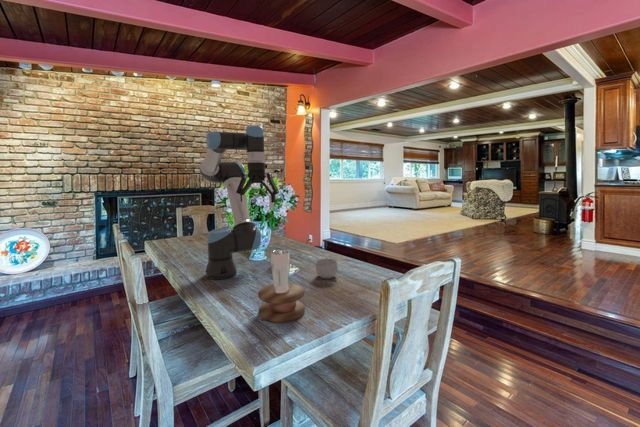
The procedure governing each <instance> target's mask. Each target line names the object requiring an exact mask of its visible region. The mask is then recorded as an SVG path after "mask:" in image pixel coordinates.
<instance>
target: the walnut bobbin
mask: <svg viewBox="0 0 640 427" xmlns="http://www.w3.org/2000/svg"><path fill="white" fill-rule="evenodd" d="M288 285H289V290H290V291H289V292H288V293H287V294H282V295H278V294H274V293H273V287H274V283H273V284H269V285H266V286H264V287H262V288H260V289H259V290H258V292H257V297H258V299H259V300H260V301H261V302H264V303H262V304H261V305H260V307H259V308H258V316H259V318H260V317H261V318H260V319H261V320H263V321H265V322H268V323H272V324H273V323H275V324H283V323H290V322H294V321H296V320H298V319H300V318H302V317H303V316H304V315H305V312H306V309H305V308H306V307H305V304H304V303H303V302H302V301H300V300H301V299H302V298H303V297H304V296H305V288H303V287H302V285H299V284H296V283H290V282H288Z"/></svg>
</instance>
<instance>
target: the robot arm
mask: <svg viewBox="0 0 640 427" xmlns="http://www.w3.org/2000/svg"><path fill="white" fill-rule="evenodd" d="M205 140H206V147H207V152H206V153H205V156H204V159H203V160H202V161H201V162H200V164H199V173H200V175H201V177H202V178H203V179H204V180H206V181H208V182H209V183H214V184H218V183H219V184H222V186H223V187H224V188H225V189H226V190H227V195H228V199H229V205H230V209H231V215H232V218H233V222H234V225H233V226H232V228H231V227H229V226H226V227H219V228H215V229H211V230H210V231H208V232H207V235H206V243H207V244H206V246H207V257H208V262H207V265H206V269H205V278H207V277H208V278H207V279H209V278H213V279H212V280H224V279H223V278H226V279H229V277H230V278H232V277H234V276H236V275H237V273H238V271H237V270H238V269H237V267H236V264H235V262H234V259H233V258H234V257H233V254H235V253H242V252H250V251H255V250H258V249H259V248H260V246H261V241H262V233H261V229H260V227H258V226H256V224H255V223H254V222H253V221H252V220H251V215H250V213H249V207H248V203H247V202H248V201H247V200H248V199H247V198H248V197H247V194H246V193H247V192H248V190H249V189H250V187H251V186H252V184H261V185H263V187H264V189H266V191H267V192H268V194H269V196H268V198H269V199H268V202H269V203H268V204H269V211H273V210H274V208H275V206H274V204H275V203H276V195H278V194H279V193H280V191H279V189H278V187H277V184H276V182H275V181H274V179H273V175H272V172H267V173H266V163H265V161H266V159H265V133H264V127H263V126H261V125H248V126H246V128H245V132H232V131H231V132H227V131H218V130H217V131H208V132H207V133H206V138H205ZM227 150H244V151H246V156H247V157H246V158H247V172H246V168H245V167H244V164H243V163H241V162H240V161H222V159H223V157H224V155H225V153H226V151H227ZM247 178H248V180H247ZM265 178H267V180H266V179H265Z"/></svg>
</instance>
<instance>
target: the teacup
mask: <svg viewBox="0 0 640 427" xmlns="http://www.w3.org/2000/svg"><path fill="white" fill-rule="evenodd" d="M315 271H316V272H315V273H316V275H317V276H319V278H321V279H325V280H326V279H327V280H329V279H333V278H334V277H335V276H336V275H337V273H338V260H337V259H335V258H331V257H329V258H328V257H324V258H320V259H317V260H316V261H315Z"/></svg>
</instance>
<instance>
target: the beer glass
mask: <svg viewBox="0 0 640 427" xmlns="http://www.w3.org/2000/svg"><path fill="white" fill-rule="evenodd" d="M290 260H291V259H290V251H289V250H286V249H277V250H273V251H272V250H271V252H270V269H271V274H272V279H273V284H274V287H273V293H274V294H278V295H282V294H287V293H288V292H289V291H290V290H289V285H288V283H289V276H290V270H291V269H290V268H291V261H290Z"/></svg>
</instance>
